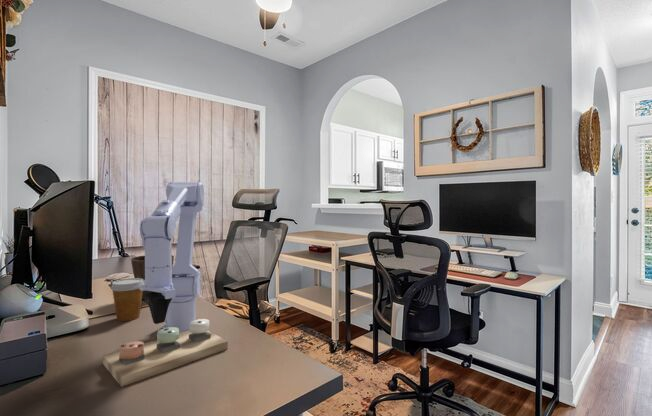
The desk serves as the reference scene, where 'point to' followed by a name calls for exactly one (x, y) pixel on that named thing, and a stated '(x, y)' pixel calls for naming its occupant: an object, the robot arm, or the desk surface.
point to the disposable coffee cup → (127, 298)
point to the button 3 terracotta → (131, 350)
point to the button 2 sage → (168, 335)
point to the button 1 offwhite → (199, 326)
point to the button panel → (163, 356)
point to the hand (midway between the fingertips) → (159, 322)
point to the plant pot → (141, 269)
